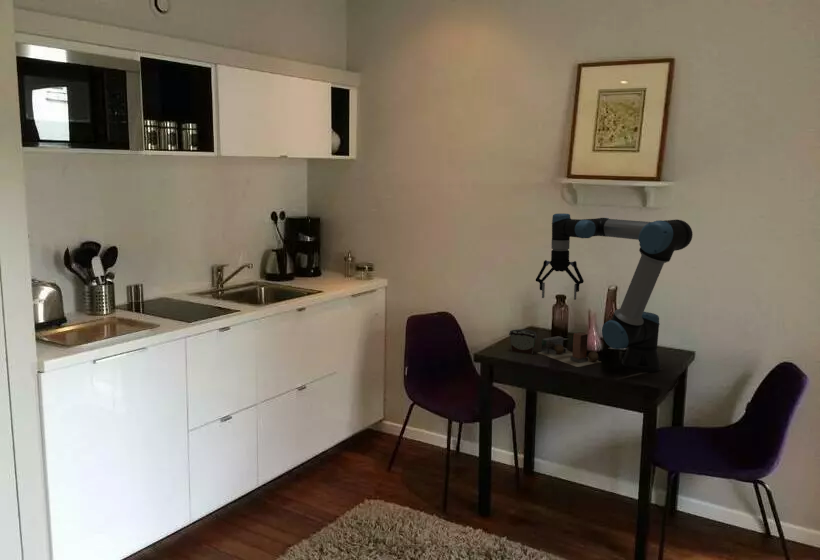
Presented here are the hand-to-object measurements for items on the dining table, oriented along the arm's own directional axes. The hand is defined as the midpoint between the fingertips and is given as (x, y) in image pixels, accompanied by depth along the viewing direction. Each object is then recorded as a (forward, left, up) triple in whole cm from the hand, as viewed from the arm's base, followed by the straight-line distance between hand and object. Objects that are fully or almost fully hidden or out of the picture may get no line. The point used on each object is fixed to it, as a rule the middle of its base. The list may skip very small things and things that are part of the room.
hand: (559, 298), depth 299 cm
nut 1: (-4, +2, -23) cm, 24 cm away
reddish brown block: (-16, +3, -23) cm, 28 cm away
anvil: (-2, +2, -23) cm, 24 cm away
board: (-10, +2, -24) cm, 26 cm away
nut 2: (-19, -2, -23) cm, 30 cm away
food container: (+7, +13, -25) cm, 29 cm away
